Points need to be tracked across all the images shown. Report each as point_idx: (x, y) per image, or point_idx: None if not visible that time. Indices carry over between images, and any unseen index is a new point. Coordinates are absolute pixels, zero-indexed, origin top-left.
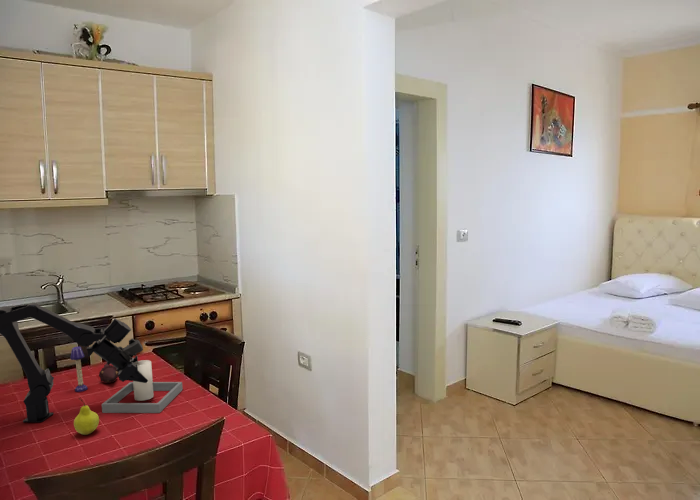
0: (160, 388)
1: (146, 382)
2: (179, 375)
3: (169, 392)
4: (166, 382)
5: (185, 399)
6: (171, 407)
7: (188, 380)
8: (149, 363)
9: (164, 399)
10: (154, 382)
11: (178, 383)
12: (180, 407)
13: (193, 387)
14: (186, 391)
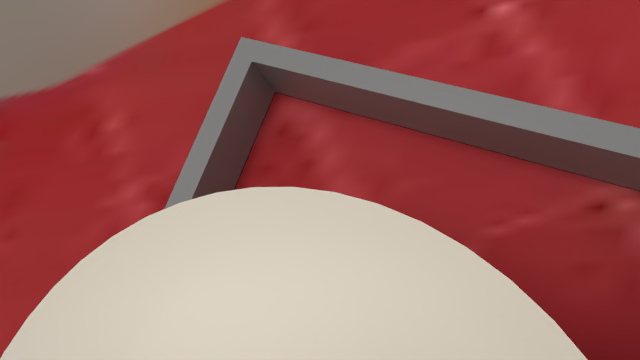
0: None
1: None
2: (10, 121)
3: (459, 103)
4: (197, 157)
5: (462, 27)
6: (611, 106)
7: (119, 56)
8: (410, 231)
9: (638, 130)
10: None
11: (262, 59)
12: (629, 39)
13: (252, 9)
14: (306, 42)
